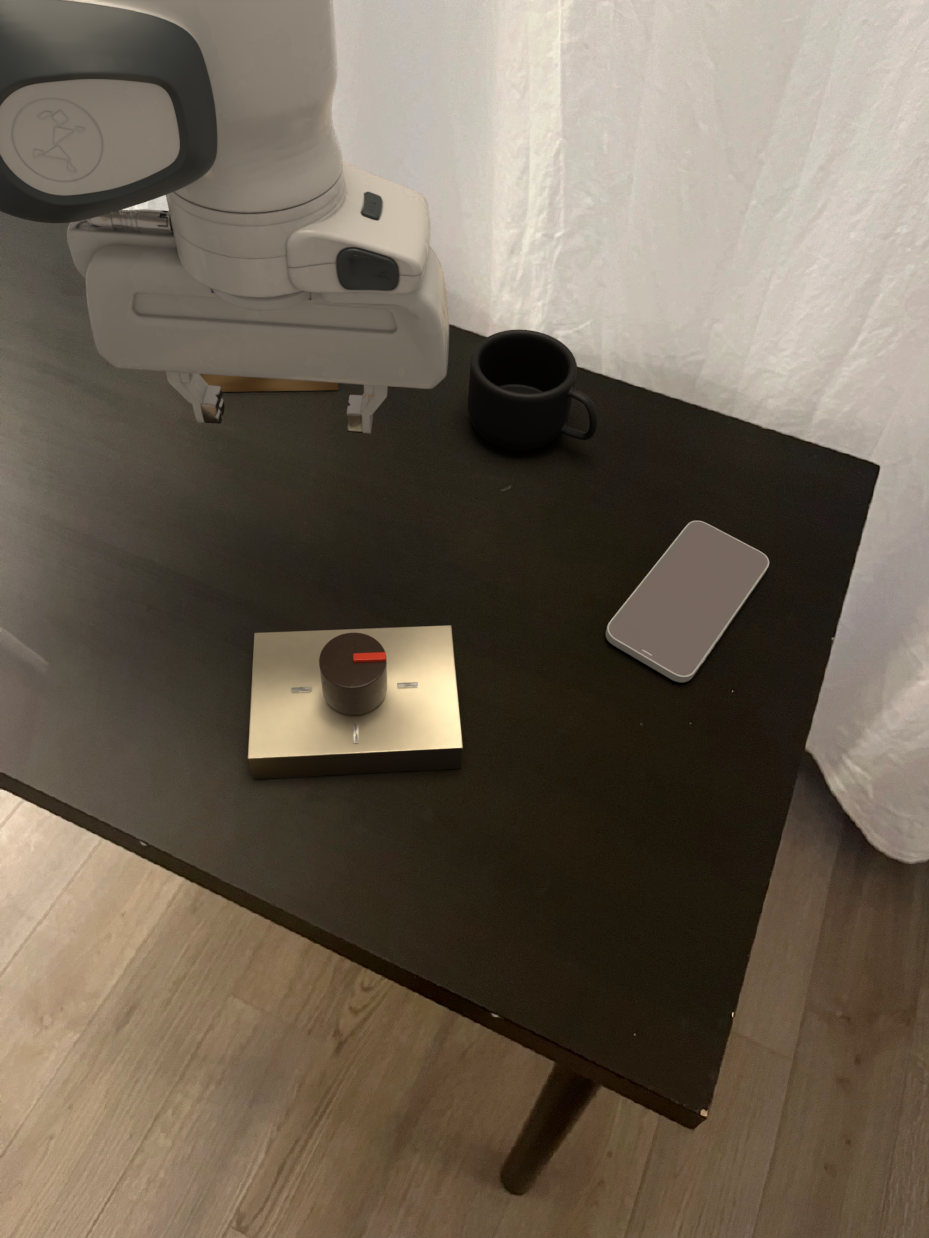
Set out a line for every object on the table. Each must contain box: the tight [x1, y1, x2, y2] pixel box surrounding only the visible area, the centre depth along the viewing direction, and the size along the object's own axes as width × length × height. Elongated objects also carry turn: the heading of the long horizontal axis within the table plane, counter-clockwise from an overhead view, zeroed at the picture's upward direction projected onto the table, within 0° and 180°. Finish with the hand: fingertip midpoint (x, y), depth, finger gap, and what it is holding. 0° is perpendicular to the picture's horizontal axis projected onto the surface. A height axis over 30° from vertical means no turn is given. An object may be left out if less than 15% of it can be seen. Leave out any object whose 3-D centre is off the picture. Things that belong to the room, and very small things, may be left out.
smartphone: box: [605, 520, 770, 683], centre depth 75 cm, size 7×1×15 cm
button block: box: [200, 374, 339, 393], centre depth 88 cm, size 12×10×4 cm
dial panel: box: [247, 624, 464, 780], centre depth 66 cm, size 14×10×3 cm
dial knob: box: [319, 633, 387, 715], centre depth 64 cm, size 4×4×4 cm
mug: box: [467, 329, 598, 451], centre depth 83 cm, size 12×9×7 cm
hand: (286, 421), depth 60 cm, fingers open, 8 cm apart
